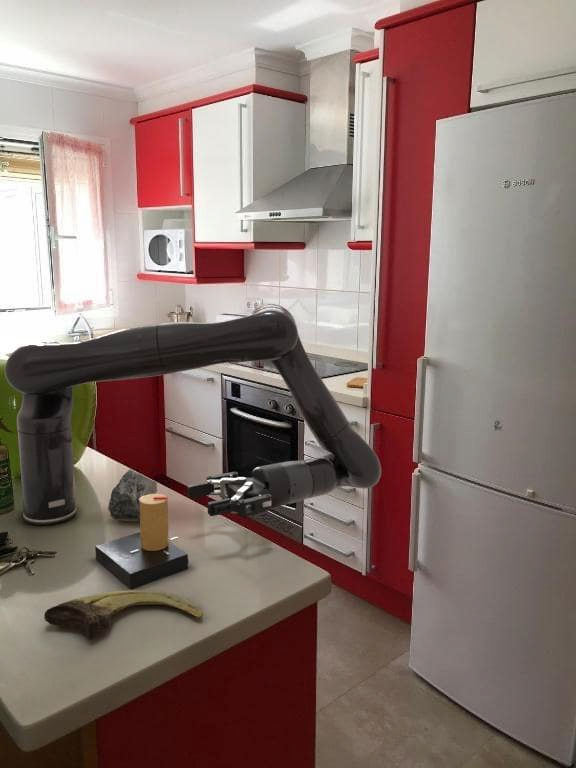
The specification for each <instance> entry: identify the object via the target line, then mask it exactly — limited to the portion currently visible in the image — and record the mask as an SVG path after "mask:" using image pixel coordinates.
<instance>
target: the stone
mask: <svg viewBox="0 0 576 768" xmlns="http://www.w3.org/2000/svg"><path fill="white" fill-rule="evenodd" d="M157 493H158V483H157V482H156V481H155V480H153V479H150V478H149V477H147V476H145V475H143V474H140V473H138V471H137V472H136V471H134V470H132V469H128V470H127V471H126V472H125V473H124V474H123V475H122V477H121V478H120V480H119V482H118V483H117V484H116V485H115V487H113V489H112V491H111V494H110V498H109V501H108V506H107V508H108V511H109V513H110V514H109V515H110V517H111V519H115V520H119V521H122V522H128V521H129V522H140V503H139V500H140V498H141V497H142V496H145V495H148V494H157Z"/></svg>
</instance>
